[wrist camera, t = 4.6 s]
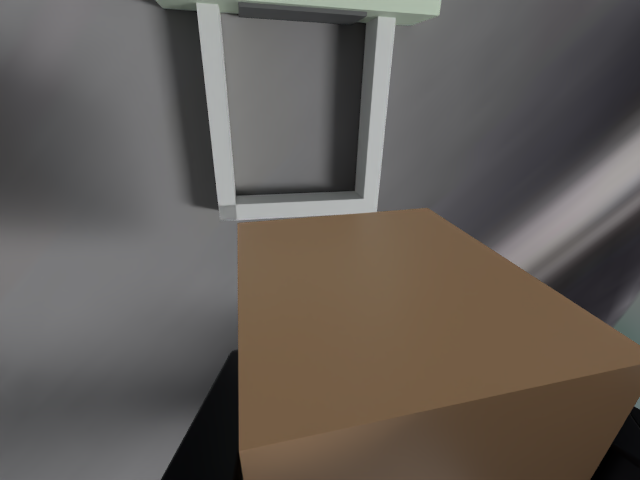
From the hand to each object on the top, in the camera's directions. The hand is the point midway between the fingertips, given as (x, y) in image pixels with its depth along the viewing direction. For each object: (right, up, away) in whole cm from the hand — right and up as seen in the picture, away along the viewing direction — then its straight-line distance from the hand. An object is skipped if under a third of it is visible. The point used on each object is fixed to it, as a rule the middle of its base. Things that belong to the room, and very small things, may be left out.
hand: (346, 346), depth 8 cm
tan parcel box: (0, 0, +1) cm, 1 cm away
